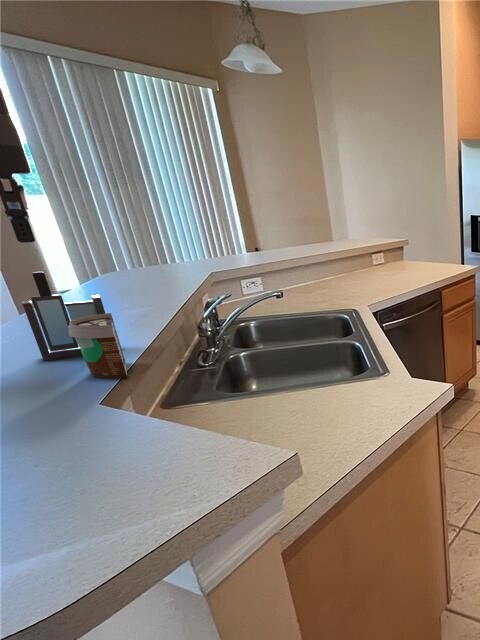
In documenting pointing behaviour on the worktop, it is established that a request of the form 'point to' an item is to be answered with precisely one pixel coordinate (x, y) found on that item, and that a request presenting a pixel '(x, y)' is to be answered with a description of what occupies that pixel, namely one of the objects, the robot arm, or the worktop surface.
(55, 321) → the sash
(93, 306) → the window frame
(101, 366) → the food container
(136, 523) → the worktop surface
